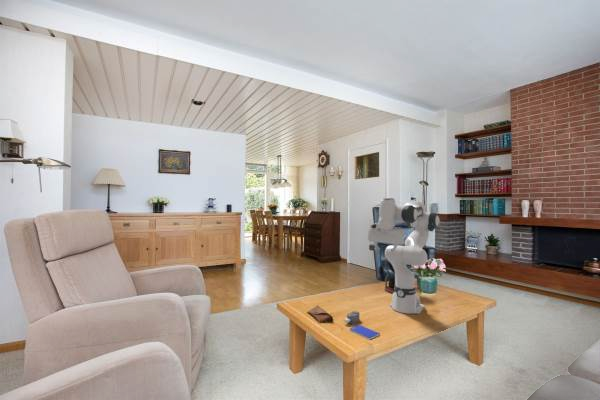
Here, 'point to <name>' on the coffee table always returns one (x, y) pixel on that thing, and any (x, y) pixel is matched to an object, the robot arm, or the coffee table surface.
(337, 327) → the coffee table surface
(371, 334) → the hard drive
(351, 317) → the plug
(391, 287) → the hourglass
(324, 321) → the sunglasses case
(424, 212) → the robot arm
